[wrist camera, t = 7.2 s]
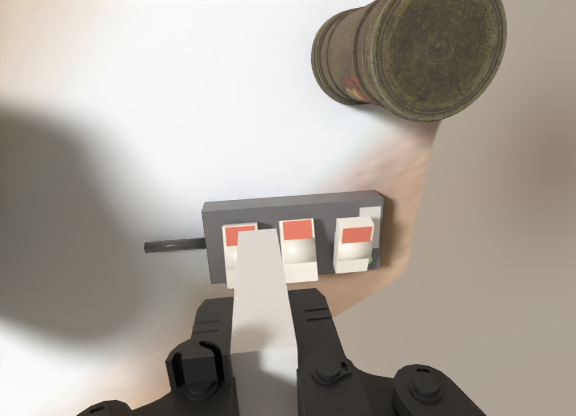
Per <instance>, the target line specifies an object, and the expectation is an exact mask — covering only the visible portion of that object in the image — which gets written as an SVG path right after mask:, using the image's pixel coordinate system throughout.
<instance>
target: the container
mask: <svg viewBox="0 0 576 416" xmlns="http://www.w3.org/2000/svg"><path fill="white" fill-rule="evenodd" d="M506 37H507V22H506V15H505V10H504V7H503V4H502V1H501V0H375V1H374V2H372V3H370V4H368V5H367V6H365V7H360V8H355V9H350V10H346V11H344V12H341V13H338V14H336V15H335V16H333V17H331V18H330V19H329V20H327V21H326V22H325V23H324V24H323V25H322V27H321V28H320V29H319V31H318V32H317V34H316V36H315V39H314V42H313V46H312V52H311V64H312V70H313V73H314V76H315V79H316V81H317V83H318V84H319V86H320V87H321V89H322V90H323V91H324V92H325V93H326V94H327V95H328V96H329V97H331V98H332V99H334V100H336V101H338V102H340V103H344V104H350V105H359V104H370V103H371V104H375V105H379V106H381V107H383V108H386V109H388V110H389V111H391V112H392V113H394V114H395V115H397V116H399V117H402V118H404V119H407V120H411V121H418V122H431V121H437V120H441V119H445V118H448V117H450V116H453V115H454V114H457V113H458V112H460V111H462V110H464V109H465V108H466V107H468V106H469V105H470V104H472V103H473V102H474V101H475V100H476V99H477V98H478V97H479V96H480V95H481V94H482V93H483V92H484V91H485V90H486V88H487V87H488V85H489V84H490V83H491V81H492V80H493V78H494V76H495V74H496V72H497V71H498V68H499V66H500V63H501V61H502V58H503V55H504V51H505V46H506Z"/></svg>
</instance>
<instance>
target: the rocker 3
mask: <svg viewBox="0 0 576 416" xmlns="http://www.w3.org/2000/svg"><path fill="white" fill-rule="evenodd" d="M373 231H374V223H373V221H372V219H371V217H370V216H364V217H351V218H338V219H337V221H336V232H335V233H334V256H333V266H334V269H335V273H336V274H337V273H348V272H359V271H367V267H368V261H369V258H370V257H371V254H372V237H373Z"/></svg>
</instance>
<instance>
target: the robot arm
mask: <svg viewBox="0 0 576 416" xmlns="http://www.w3.org/2000/svg"><path fill="white" fill-rule="evenodd" d="M165 363H166V367H167V372H168V377H169V382H170V386H171V391H170V392H169V393H168V394H167V395H165V396H164V397H162V398H161V399H159V400H156V401H154V402H152V403H150V404H147V405H145V406H142V407H139V408H137V409H134V410H131V409H130V407H129V406H128V405H127V404H126V403H124V402H121V401H118V400H111V401H103V402H100V403H98V404H95V405H92V406H90V407H89V408H87V409H85V410H84V411H82V412H81V413H79V414H78V415H77V416H486V415H485V414H484V413H483V412H482V411H481V410H480V409H479V407H477V406H476V405H475V403H473V401H472V400H471V399H470V398H469V397H468V396H467V395H466V394H465V393H464V392H463V391H462V390H461V389H460V388H459V387H458V386H457V385H456V384H455V383H454V382H453V381H452V380H451V379H450V378H449V377H447V376H446V375H445V374H443V373H442V372H441V371H439V370H437V369H434V368H432V367H430V366H426V365H419V364H415V365H407V366H405V367H403V368H401V369H400V370H398V371H397V373H396V375H395V377H394V378H388V377H382V376H376V375H372V374H368V373H365V372H363V371H361V370H358V369H357V368H356V367H355V366H354V365H353V363H352V362H351V361H350V360H349V359H347V358H346V356H345V354H344V351H343V348H342V345H341V342H340V339H339V337H338V334H337V331H336V328H335V325H334V322H333V319H332V316H331V313H330V310H329V307H328V304H327V301H326V298H325V296H324V295H322V294H321V293H320V292H319V291H318V290H317V289H316V288H311V289H301V290H290V291H287V286H286V280H285V275H284V269H283V263H282V258H281V252H280V246H279V241H278V235H277V230H276V229H263V230H251V231H238V245H237V260H236V275H235V290H234V297H227V298H216V299H206V300H205V301H204V302H203V304H202V305H201V306H200V307H199V308H198V310H197V312H196V317H195V322H194V326H193V331H192V335H191V339H189V340H187V341H185V342H183V343H181V344H179V345H178V346H177V347H176V348H175V349H173V350H172V351H171V352H170V354H169V355H168V357H167V359H166V361H165Z"/></svg>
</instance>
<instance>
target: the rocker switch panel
mask: <svg viewBox="0 0 576 416" xmlns="http://www.w3.org/2000/svg"><path fill="white" fill-rule="evenodd" d="M383 202H384V198H383V197H382V196H381V195H380V194H378V193H377V192H376V191H375V190H370V191H356V192H342V193H328V194H314V195H300V196H286V197H272V198H258V199H244V200H230V201H216V202H205V203H204V206H203V209H202V219H203V227H204V234H205V238H195V239H182V240H169V241H157V242H145V245H144V249H145V252H146V253H151V252H164V251H176V250H188V249H200V248H206V249H207V256H208V263H209V271H210V278H211V284H218V283H227V278H226V267H225V255H224V243H223V232H222V226H223V225H225V224H238V223H251V222H257V229H258V230H263V229H276V230H277V235H278V241H279V246H280V252H281V243H280V230H279V221H286V220H299V219H312V218H313V223H314V235H315V247H316V260H317V272H318V274H329V273H335V269H334V266H333V256H334V233H335V232H336V221H337V219H338V218H351V217H364V216H370V217H371V219H372V221H373V223H374V231H373V237H372V254H371V257H370V258H369V261H368V267H367V270H373V269H380V252H381V236H382V219H383ZM281 258H282V256H281Z"/></svg>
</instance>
